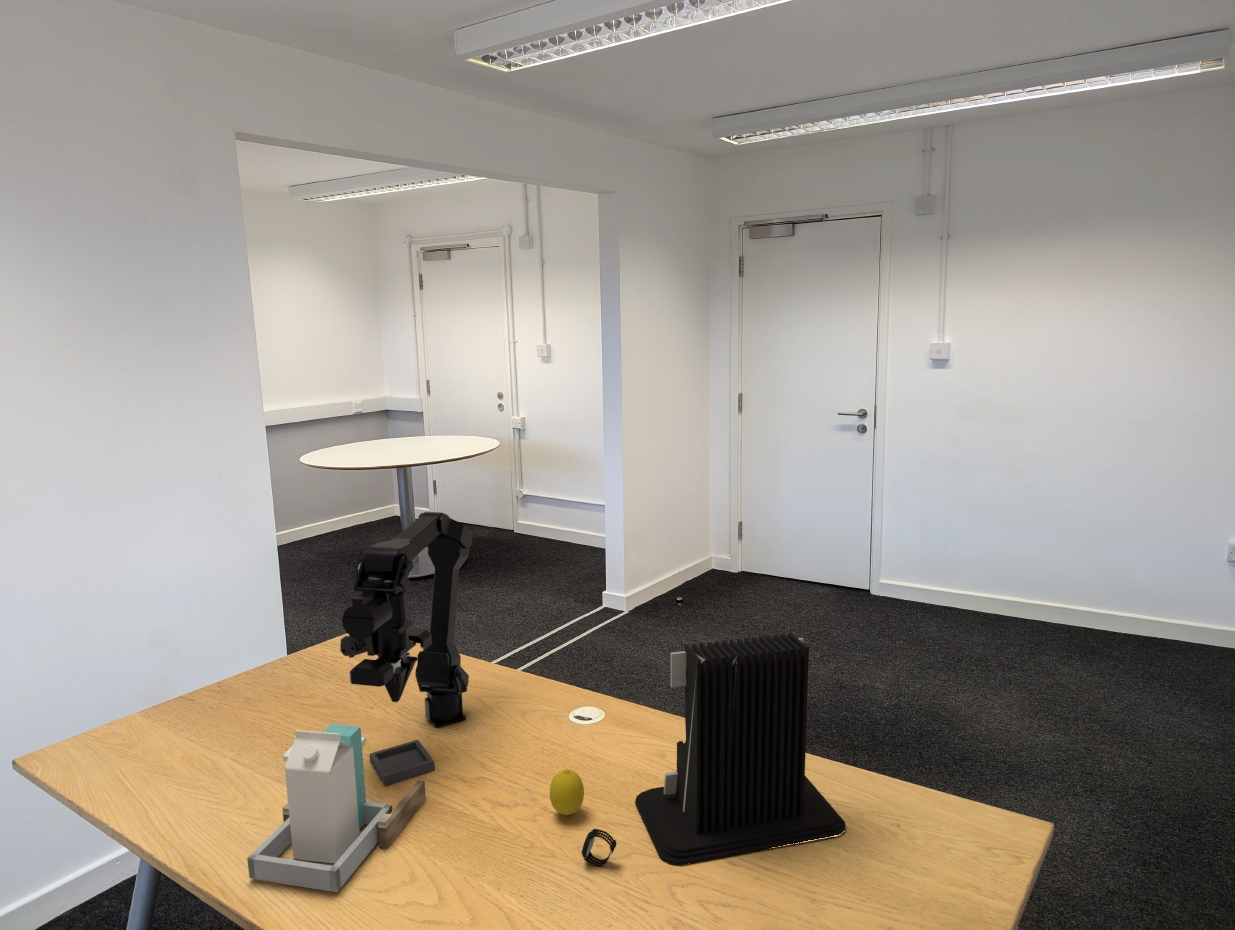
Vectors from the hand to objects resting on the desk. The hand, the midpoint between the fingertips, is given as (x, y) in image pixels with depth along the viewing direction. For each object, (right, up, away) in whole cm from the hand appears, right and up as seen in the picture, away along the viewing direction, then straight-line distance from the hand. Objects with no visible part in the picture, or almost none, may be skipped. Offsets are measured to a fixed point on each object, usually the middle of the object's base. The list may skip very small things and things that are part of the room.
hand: (395, 701), depth 142 cm
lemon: (+31, -15, -12) cm, 36 cm away
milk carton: (-5, -17, -19) cm, 26 cm away
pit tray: (0, -13, +3) cm, 13 cm away
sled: (-5, -17, -21) cm, 27 cm away
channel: (-3, -15, -11) cm, 19 cm away
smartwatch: (+36, -17, -24) cm, 47 cm away
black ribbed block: (+58, -15, -12) cm, 62 cm away
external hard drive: (-16, -13, +9) cm, 22 cm away
